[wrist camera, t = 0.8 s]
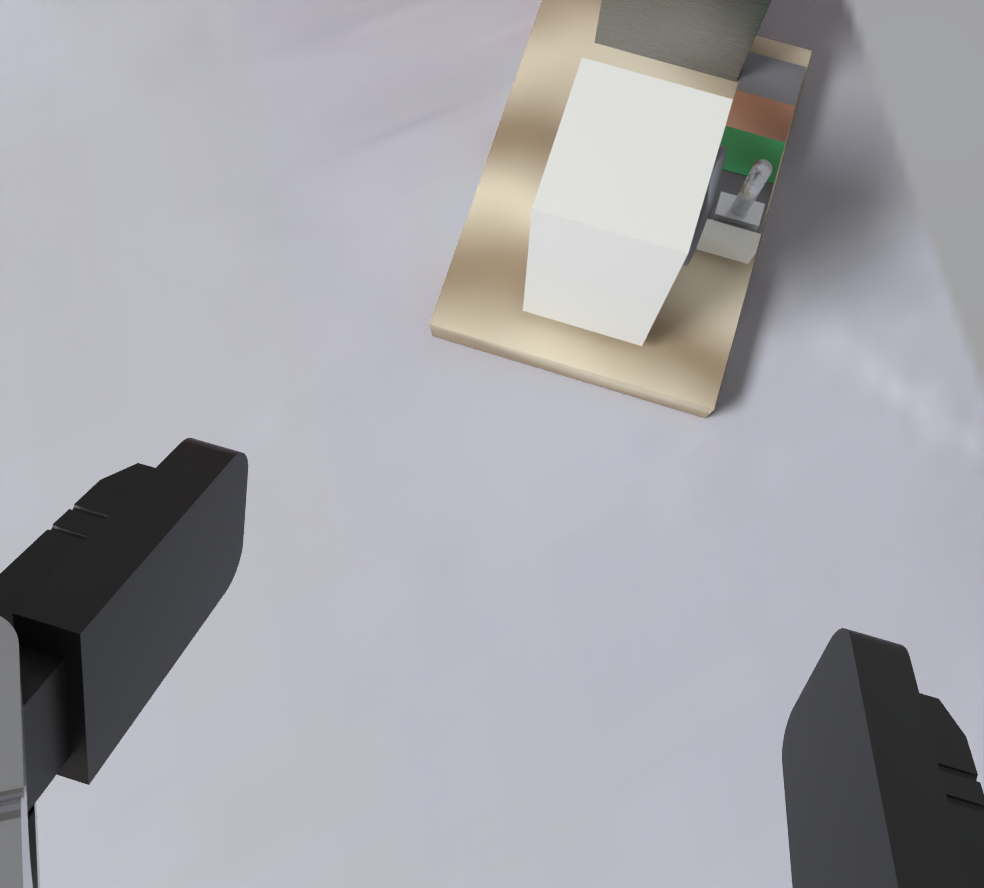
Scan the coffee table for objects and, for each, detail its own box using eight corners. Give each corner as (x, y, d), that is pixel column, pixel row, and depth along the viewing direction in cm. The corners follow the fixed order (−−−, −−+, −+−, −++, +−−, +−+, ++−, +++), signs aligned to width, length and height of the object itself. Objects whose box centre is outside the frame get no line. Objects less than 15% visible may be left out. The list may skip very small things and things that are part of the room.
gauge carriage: (719, 369, 37) (789, 283, 28) (522, 310, 37) (532, 207, 29) (764, 203, 38) (845, 72, 30) (575, 150, 39) (599, 5, 30)
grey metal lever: (749, 241, 38) (783, 186, 34) (707, 228, 38) (735, 173, 34) (755, 219, 38) (790, 162, 34) (713, 207, 38) (742, 149, 34)
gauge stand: (705, 418, 38) (715, 408, 37) (432, 335, 39) (429, 322, 38) (800, 71, 42) (813, 47, 40) (547, 1, 43) (550, -25, 41)
